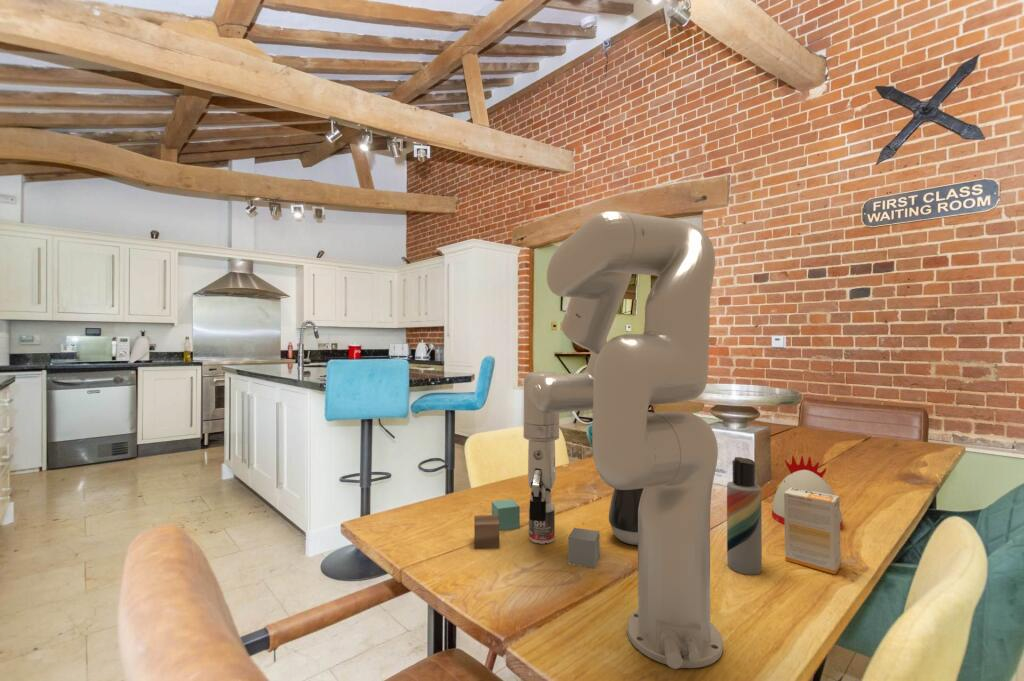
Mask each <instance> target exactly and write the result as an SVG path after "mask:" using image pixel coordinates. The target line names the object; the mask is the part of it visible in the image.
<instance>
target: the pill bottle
mask: <svg viewBox="0 0 1024 681" xmlns="http://www.w3.org/2000/svg"><path fill="white" fill-rule="evenodd" d="M539 491H541V493H542V490H539ZM544 501H546V520H545V521H534V520H530V504H529V506H528V516H529V517H528V537H529V540H530V541H531V542H532V543H534V544H538V543H539V545H546V544H545V543H547V544H550V543H552V542H554V541H555V535H556V534H555V533H556V532H555V529H556V528H555V525H556V524H555V520H556V518H555V509H556V508H555V504H554V503H553V502H552V492H549V491H545V500H544ZM550 501H551V502H550Z"/></svg>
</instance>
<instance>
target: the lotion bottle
mask: <svg viewBox="0 0 1024 681" xmlns="http://www.w3.org/2000/svg"><path fill="white" fill-rule="evenodd" d="M731 466H732V467H731V468H732V481H729V482H727V484H726V556H727V557H726V559H727V565H728V567H729V568H730V569H731V570H733V571H734V572H736V573H740V574H744V575H758V574H760V573H761V571H762V568H763V567H762V566H763V565H762V563H763V562H762V561H763V559H762V558H763V557H762V555H763V554H762V553H763V552H762V547H763V546H762V545H763V544H762V540H763V539H762V536H763V535H762V530H763V528H762V523H763V522H762V511H763V510H762V488H761V486H760V485H758V484H756V462H755V461H754V460H752V459H751V458H745V457H739V456H735V457H734V459H733V460H732V464H731Z"/></svg>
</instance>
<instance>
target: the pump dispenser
mask: <svg viewBox="0 0 1024 681" xmlns="http://www.w3.org/2000/svg"><path fill="white" fill-rule="evenodd" d="M643 489H644V488H640V489H633V490H619V489H615V488H613V492H612V495H611V499H610V504H609V511H608V522H609V524H610V527H611V530H612V532H613V534H614V536H615V537H616V538H617V539H618V540H620V541H621V542H623V543H625V544H627V545H628V544H629V545H633V546H638V509H639V503H640V498H641V495H642V492H643Z"/></svg>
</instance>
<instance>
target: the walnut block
mask: <svg viewBox="0 0 1024 681" xmlns="http://www.w3.org/2000/svg"><path fill="white" fill-rule="evenodd" d="M473 522H474V526H473V527H474V528H473V529H474V533H473V534H474V535H473V536H474V538H473V539H474V542H473V543H474V548H473V549H474V550H485V549H486V550H487V549H488V550H490V549H491V550H492V549H493V550H494V549H500V531H499V518H498V515H492V514H487V515H486V514H484V515H483V514H482V515H480V514H479V515H474V521H473Z"/></svg>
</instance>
